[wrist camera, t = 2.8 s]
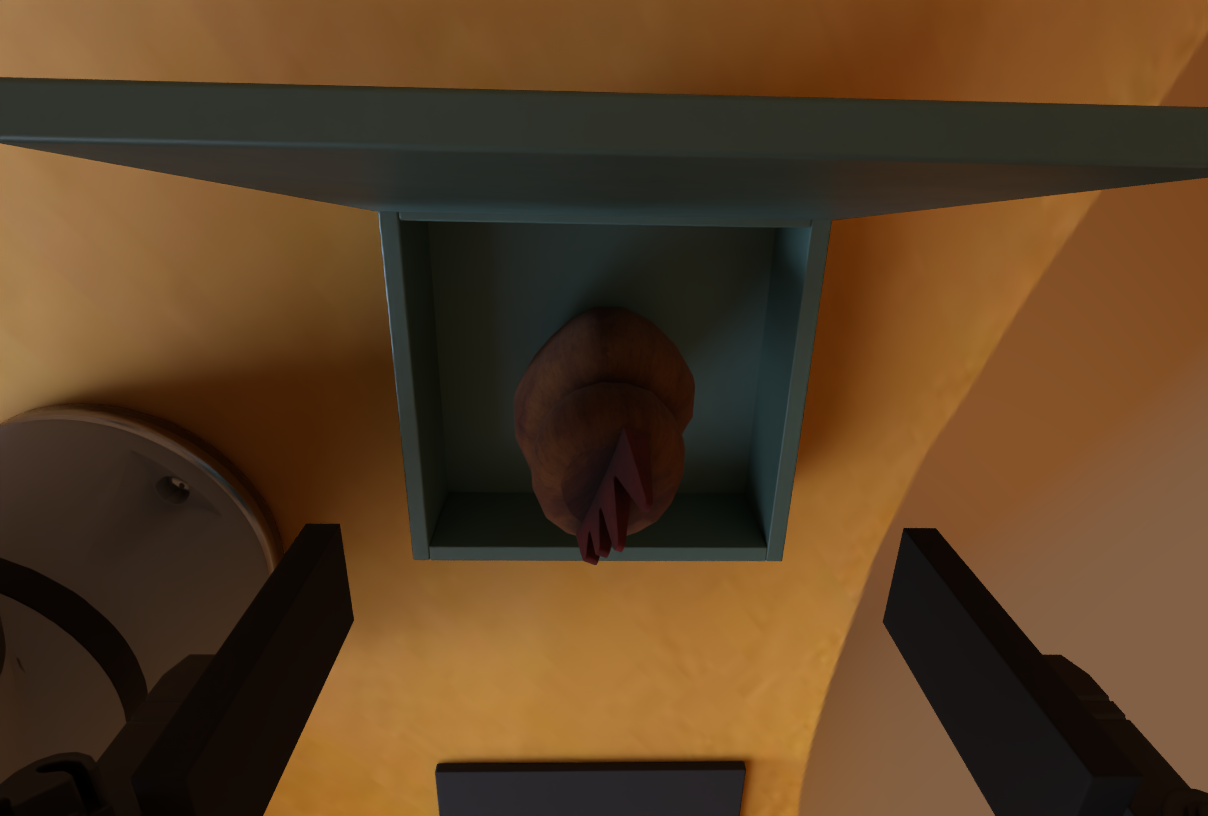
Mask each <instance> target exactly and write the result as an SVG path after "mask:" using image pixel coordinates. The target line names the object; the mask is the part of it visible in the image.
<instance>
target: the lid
mask: <svg viewBox="0 0 1208 816" xmlns="http://www.w3.org/2000/svg"><path fill="white" fill-rule="evenodd" d="M0 143H2V144H7V145H13V146H18V147H24V148H29V149H35V150H40V151H46V152H51V153H57V154H62V155H68V156H73V157H79V158H84V159H90V160H95V161H101V162H106V163H112V164H117V165H123V166H128V167H134V168H140V169H145V170H151V171H156V172H162V173H167V174H173V175H178V176H184V177H189V178H195V179H200V180H206V181H211V182H217V183H222V184H228V185H233V186H239V187H244V188H250V189H255V190H261V191H266V192H272V193H277V194H283V195H288V196H294V197H299V198H305V199H310V200H316V201H322V202H327V203H333V204H338V205H344V206H349V207H355V208H360V209H366V210H371V211H391V212H443V213H496V214H549V215H602V216H654V217H707V218H760V219H813V220H839V219H848V218H857V217H866V216H875V215H883V214H892V213H901V212H910V211H918V210H927V209H936V208H945V207H953V206H962V205H971V204H980V203H989V202H997V201H1006V200H1015V199H1024V198H1032V197H1041V196H1050V195H1059V194H1067V193H1076V192H1085V191H1094V190H1103V189H1110V188H1119V187H1129V186H1138V185H1146V184H1155V183H1164V182H1173V181H1181V180H1190V179H1199V178H1207V177H1208V107H1176V106H1137V105H1097V104H1057V103H1017V102H976V101H936V100H896V99H856V98H816V97H776V96H735V95H695V94H655V93H615V92H575V91H535V90H494V89H454V88H414V87H374V86H334V85H294V84H253V83H213V82H173V81H133V80H93V79H53V78H13V77H0Z"/></svg>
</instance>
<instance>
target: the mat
mask: <svg viewBox="0 0 1208 816" xmlns="http://www.w3.org/2000/svg"><path fill="white" fill-rule="evenodd" d="M745 773H746V768H745V764H744V762H643V763H508V764H437V766H436V771H435V776H436V785H437V795H438V805H439V815H440V816H739V815H740V808H741V801H742V794H743V787H744V780H745Z"/></svg>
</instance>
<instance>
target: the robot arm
mask: <svg viewBox="0 0 1208 816" xmlns="http://www.w3.org/2000/svg"><path fill="white" fill-rule="evenodd" d="M353 621H354V616H353V610H352V603H351V596H350V589H349V582H348V576H347V569H346V562H345V555H344V549H343V542H342V535H341V528H340V524H306V525H305V526H304V527H303V529H302V530H301V532H300V533H299V535H298V536H297V538H296V539H295V540H294V542H293V543H292V545H291V546H290V548H289V549H288V551H287V552H286V553H285V555H284V553H283V547H282V543H281V539H280V535H279V532H278V529H277V527H276V524H275V521H274V519H273V517H272V515H271V513H270V511H269V509H268V508H267V506H266V504H265V503H264V501H263V499H262V498H261V496H260V495H259V494H258V492H257V491H256V490H255V488H254V487H253V485H252V484H251V483H250V482H249V481H248V480H247V479H246V477H245V476H244V475H243V474H242V473H241V472H240V471H239V470H238V469H237V468H236V467H235V466H234V465H233V464H232V463H231V462H230V461H229V460H227V459H226V458H225V457H224V456H222V455H221V454H220V453H219V452H218V451H216V450H215V449H214V448H212V447H211V446H209V445H208V444H206V443H205V442H203V441H202V440H200V439H199V438H197V437H195V436H194V435H192V434H190V433H188V432H187V431H185V430H183V429H181V428H179V427H177V426H175V425H173V424H170V423H168V422H166V421H163V420H161V419H158V418H156V417H153V416H150V415H147V414H143V413H140V412H137V411H133V410H129V409H124V408H120V407H115V406H107V405H100V404H83V403H80V404H61V405H53V406H47V407H42V408H38V409H34V410H31V411H28V412H25V413H22V414H19V415H17V416H15V417H13V418H11V419H8V420H6V421H4V422H2V423H1V424H0V816H263V815H264V813H265V810H266V808H267V806H268V804H269V802H270V800H271V798H272V795H273V793H274V791H275V789H276V787H277V785H278V782H279V780H280V778H281V776H282V774H283V772H284V770H285V767H286V765H287V763H288V761H289V759H290V757H291V755H292V752H293V750H294V748H295V746H296V744H297V742H298V739H299V737H300V735H301V733H302V731H303V729H304V727H305V724H306V722H307V720H308V718H309V716H310V714H311V712H312V709H313V707H314V705H315V703H316V701H317V699H318V696H319V694H320V692H321V690H322V688H323V686H324V684H325V681H326V679H327V677H328V675H329V673H330V671H331V669H332V666H333V664H334V662H335V660H336V658H337V656H338V653H339V651H340V649H341V647H342V645H343V643H344V641H345V638H346V636H347V634H348V632H349V630H350V628H351V626H352V623H353ZM883 623H884V625H885V627H886V628H887V630H888V632H889V634H890V635H891V637H892V639H893V640H894V642H895V644H896V646H897V647H898V649H899V651H900V653H901V654H902V656H903V658H904V659H905V661H906V663H907V664H908V666H909V668H910V670H911V671H912V673H913V675H914V677H915V678H916V680H917V682H918V684H919V685H920V687H921V689H922V690H923V692H924V694H925V696H926V697H927V699H928V701H929V702H930V704H931V706H932V707H933V709H934V711H935V713H936V715H937V716H938V718H939V720H940V721H941V723H942V725H943V727H944V728H945V730H946V732H947V733H948V735H949V737H950V739H951V740H952V742H953V744H954V746H955V747H956V749H957V750H958V752H959V754H960V756H961V757H962V759H963V761H964V763H965V764H966V766H967V768H968V770H969V771H970V773H971V775H972V776H973V778H974V780H975V782H976V783H977V785H978V787H979V789H980V790H981V792H982V794H983V795H984V797H985V799H986V800H987V802H988V804H989V806H990V807H991V809H992V811H993V813H994V814H995V816H1208V793H1206V792H1203V791H1200V790H1197V789H1191V788H1190V787H1189V786H1188V785H1187V784H1186V783H1185V781H1184V780H1183V779H1182V778H1181V777H1180V776H1179V775H1178V774H1177V772H1176V771H1175V770H1174V769H1173V768H1172V767H1171V766H1170V765H1169V763H1168V762H1167V761H1166V760H1165V759H1164V758H1163V757H1162V756H1161V755H1160V753H1159V752H1158V751H1157V750H1156V749H1155V748H1154V747H1153V746H1152V744H1151V743H1150V742H1149V741H1148V740H1147V739H1146V738H1145V737H1144V736H1143V734H1142V733H1141V732H1140V731H1139V730H1138V729H1137V728H1136V727H1135V725H1134V724H1133V723H1132V722H1131V721H1130V720H1126V718H1125V714H1124V713H1123V712H1122V711H1121V710H1120V709H1119V708H1118V707H1117V705H1116V704H1114V702H1113V701H1110V700H1109V697H1108V695H1107V694H1106V693H1105V692H1104V691H1103V690H1102V689H1101V688H1100V686H1099V685H1098V684H1097V683H1096V682H1095V681H1094V680H1093V679H1092V677H1090V675H1089V674H1087V673H1086V672H1085V671H1083V670H1082V669H1080V668H1079V667H1078V666H1076V665H1075V664H1073V663H1072V662H1070V661H1069V660H1068V659H1066V658H1065V657H1063V656H1062V655H1042V654H1041V653H1040V652H1039V650H1038V649H1037V648H1036V647H1035V646H1034V644H1033V643H1032V642H1031V641H1030V640H1029V639H1028V637H1027V636H1026V635H1025V634H1024V633H1023V631H1022V630H1021V629H1020V628H1019V627H1018V625H1017V624H1016V623H1015V622H1014V621H1013V620H1012V618H1011V617H1010V616H1009V615H1008V614H1007V612H1006V611H1005V610H1004V609H1003V608H1002V606H1001V605H1000V604H999V603H998V602H997V601H996V599H995V598H994V597H993V596H992V595H991V593H990V592H989V591H988V590H987V589H986V587H985V586H984V585H983V584H982V583H981V582H980V581H979V579H978V578H977V577H976V576H975V574H974V573H973V572H972V571H971V570H970V569H969V567H968V566H967V565H966V564H965V562H964V561H963V560H962V559H961V558H960V557H959V555H958V554H957V553H956V552H955V551H954V549H953V548H952V547H951V546H950V545H949V543H948V542H947V541H946V540H945V539H944V538H943V536H942V535H941V534H940V533H939V532H938V530H937V529H936V528H904V529H903V533H902V538H901V543H900V547H899V552H898V556H897V560H896V565H895V569H894V574H893V579H892V583H891V588H890V592H889V596H888V601H887V605H886V611H885V614H884V619H883Z"/></svg>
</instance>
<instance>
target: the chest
mask: <svg viewBox="0 0 1208 816" xmlns="http://www.w3.org/2000/svg"><path fill="white" fill-rule="evenodd" d="M378 217H379V227H380V237H381V246H382V256H383V266H384V276H385V286H386V295H387V305H388V315H389V325H390V335H391V344H392V354H393V364H394V374H395V384H396V394H397V403H398V413H399V423H400V433H401V443H402V452H403V462H404V472H405V482H406V492H407V501H408V511H409V521H410V531H411V541H412V551H413V559H414V560H429V559H431V560H530V561H583V559H582V556H581V553H580V549H579V545H578V541H577V537H576V535H572V534H569V533H566V532H565V531H564V530H562V529H561V528H559V527H558V526H557V525H555V524H554V523H553V522H551V521H550V520H549V519H547V518H546V516H545V514H544V512H543V510H542V508H541V505H540V503H539V501H538V499H537V497H536V494H535V492H534V490H533V488H532V471H531V469H530V467H529V465H528V463H527V461H526V459H525V457H524V455H523V453H522V450H521V448H520V446H519V444H518V442H517V440H516V438H515V417H514V396H515V392H516V389H517V386H518V384H519V382H520V381H521V379H522V377H523V375H524V373H525V372H526V370H527V368H528V366H529V364H530V363H531V361H532V359H533V358H534V356H535V354H536V353H537V352H538V351H539V350H540V349H541V347H542V346H543V345H544V344H545V343H546V342H547V340H548V339H549V338H550V337H551V336H552V335H553V334H554V333H555V332H557V331H558V330H559V329H560V328H561V327H562V326H563V325H565V324H566V323H567V322H568V321H569V320H570V319H572V318H574V317H576V316H578V315H580V314H582V313H584V312H586V311H588V310H589V309H591V308H593V307H625V308H627V309H629V310H631V311H633V312H635V313H637V314H639V315H641V316H643V317H645V318H647V319H649V320H650V321H651V322H653V323H654V324H655V325H656V326H657V327H658V328H659V329H660V330H661V331H662V332H663V333H664V334H665V335H666V336H667V337H668V338H669V339H670V340H671V341H672V342H673V343H674V344H675V346H676V347H677V349H678V350H679V352H680V354H681V355H682V357H683V358H684V360H685V362H686V363H687V365H688V367H689V369H690V371H691V373H692V375H693V378H694V384H695V395H694V408H693V418H692V419H691V421H690V422H689V424H688V425H687V427H686V428H685V430H684V432H683V434H682V437H683V439H684V446H685V459H684V474H683V477H682V479H681V482H680V484H679V487H678V489H677V491H676V494H675V496H674V498H673V501H672V503H671V504H670V506H669V507H668V508H667V509H666V511H665V512H664V513H663V514H662V516H661V517H660V518H659V519H658V521H656V522H654V523H652V524H651V525H649V526H647V527H646V528H644V529H642V530H641V531H639V532H636V533H633V534H630V535H627V536H626V544H625V547H624V549H623V551H622V552H618V551H616V550H614V549H613V545H611V550H610V554H609V555H608V557H607V558H604V557H601V556H600V558H599V561H765V560H766V561H782V558H783V551H784V544H785V537H786V530H787V523H788V516H789V510H790V503H791V496H792V489H793V482H794V475H795V469H796V462H797V455H798V448H799V441H800V434H801V427H802V421H803V414H804V407H805V400H806V393H807V386H808V380H809V373H810V366H811V359H812V352H813V345H814V338H815V332H816V325H817V318H818V311H819V304H820V297H821V290H822V284H823V277H824V270H825V263H826V256H827V249H828V243H829V236H830V229H831V222H832V220H813V219H760V218H707V217H654V216H602V215H549V214H496V213H443V212H391V211H378Z"/></svg>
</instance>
